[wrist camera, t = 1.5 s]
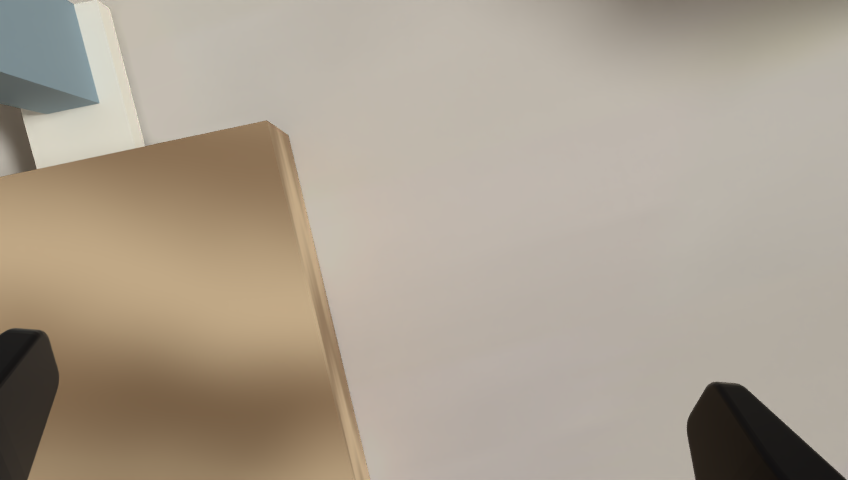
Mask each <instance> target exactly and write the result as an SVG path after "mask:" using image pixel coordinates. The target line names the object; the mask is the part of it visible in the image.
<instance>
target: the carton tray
mask: <svg viewBox="0 0 848 480" xmlns="http://www.w3.org/2000/svg"><path fill="white" fill-rule="evenodd" d="M0 104H4V105H8V106H13V107H17V108H20V110H21V113H22V117H23V121H24V124H25V128H26V131H27V135H28V139H29V142H30V146H31V150H32V153H33V157H34V160H35V164H36V168H37V169H40V168H45V167H50V166H54V165H59V164H64V163H69V162H73V161H78V160H83V159H88V158H92V157H97V156H102V155H106V154H111V153H116V152H121V151H125V150H130V149H135V148H139V147H144V146H145V144H144V140H143V136H142V132H141V128H140V124H139V120H138V117H137V113H136V109H135V105H134V101H133V97H132V93H131V90H130V86H129V82H128V78H127V74H126V70H125V66H124V63H123V59H122V55H121V51H120V47H119V43H118V39H117V36H116V32H115V28H114V24H113V20H112V16H111V12H110V9H109V8H108V7H107V6H105V5H104V4H103V3H101V2H100V1H98V0H92V1H87V2H82V3H77V4H72V3H71V2H69V1H68V0H0Z"/></svg>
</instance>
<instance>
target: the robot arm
mask: <svg viewBox="0 0 848 480" xmlns="http://www.w3.org/2000/svg"><path fill="white" fill-rule="evenodd" d="M58 385H59V371H58V367H57V363H56V360H55V357H54V353H53V350H52V346H51V343H50V340H49V337H48V335H47V334H46V333H45V332H44V331H42V330H36V329H23V328H12V329H9V330H6V331H4V332H3V333H1V334H0V480H28V477H29V474H30V471H31V468H32V465H33V462H34V459H35V456H36V453H37V450H38V447H39V444H40V441H41V438H42V435H43V432H44V429H45V426H46V423H47V420H48V417H49V414H50V411H51V408H52V405H53V402H54V399H55V396H56V393H57V389H58ZM687 436H688V441H689V447H690V452H691V457H692V463H693V468H694V474H695V479H696V480H846V479H845V478H844V477H843V476H842V475H841V474H840V473H839V472H838V471H836V470H835V469H834V468H833V467H832V466H831V465H830V464H829V463H828V462H827V461H825V460H824V459H823V458H822V457H821V456H820V455H819V454H818V453H817V452H816V451H814V450H813V449H812V448H811V447H810V446H809V445H808V444H807V443H806V442H805V441H803V440H802V439H801V438H800V437H799V436H798V435H797V434H796V433H795V432H794V431H792V430H791V429H790V428H789V427H788V426H787V425H786V424H785V423H784V422H783V421H781V420H780V419H779V418H778V417H777V416H776V415H775V414H774V413H773V412H772V411H770V410H769V409H768V408H767V407H766V406H765V405H764V404H763V403H762V402H761V401H759V400H758V399H757V398H756V397H755V396H754V395H753V394H752V393H751V392H750V391H748V390H747V389H746V388H745V387H744V386H742V385H740V384H736V383H726V382H712V383H711V384H709V385H708V386H707V387H706V388H705V390H704V392H703V393H702V395H701V397H700V399H699V400H698V402H697V404H696V405H695V407H694V409H693V410H692V412H691V414H690V416H689V418H688V422H687Z"/></svg>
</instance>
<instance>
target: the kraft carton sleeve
mask: <svg viewBox="0 0 848 480" xmlns="http://www.w3.org/2000/svg"><path fill="white" fill-rule="evenodd" d="M12 328H23V329H36V330H42V331H44V332H45V333H46V334H47V335H48V337H49V340H50V343H51V346H52V350H53V353H54V357H55V360H56V363H57V367H58V371H59V385H58V389H57V393H56V396H55V399H54V402H53V405H52V408H51V411H50V414H49V417H48V420H47V423H46V426H45V429H44V432H43V435H42V438H41V441H40V444H39V447H38V450H37V453H36V456H35V459H34V462H33V465H32V468H31V471H30V474H29V477H28V480H370V477H369V473H368V468H367V464H366V460H365V456H364V452H363V447H362V443H361V439H360V435H359V431H358V426H357V422H356V418H355V414H354V410H353V405H352V401H351V397H350V393H349V389H348V384H347V380H346V376H345V372H344V368H343V363H342V359H341V355H340V351H339V347H338V342H337V338H336V334H335V330H334V326H333V321H332V317H331V313H330V309H329V305H328V300H327V296H326V292H325V288H324V284H323V279H322V275H321V271H320V267H319V262H318V258H317V254H316V250H315V246H314V241H313V237H312V233H311V229H310V225H309V220H308V216H307V212H306V208H305V204H304V199H303V195H302V191H301V187H300V183H299V178H298V174H297V170H296V166H295V162H294V157H293V153H292V149H291V145H290V141H289V136H288V135H287V134H286V133H284V132H283V131H281V130H280V129H278V128H277V127H276V126H274V125H273V124H271V123H270V122H268V121H262V122H257V123H253V124H248V125H243V126H238V127H234V128H229V129H224V130H220V131H215V132H210V133H205V134H201V135H196V136H191V137H187V138H182V139H177V140H172V141H168V142H163V143H158V144H154V145H149V146H144V147H139V148H135V149H130V150H125V151H121V152H116V153H111V154H106V155H102V156H97V157H92V158H88V159H83V160H78V161H73V162H69V163H64V164H59V165H54V166H50V167H45V168H40V169H36V170H31V171H26V172H21V173H17V174H12V175H7V176H3V177H0V334H1V333H3V332H4V331H6V330H9V329H12Z"/></svg>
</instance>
